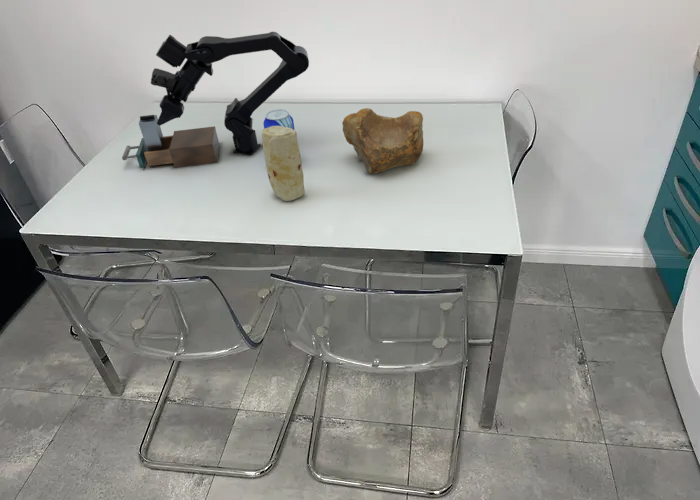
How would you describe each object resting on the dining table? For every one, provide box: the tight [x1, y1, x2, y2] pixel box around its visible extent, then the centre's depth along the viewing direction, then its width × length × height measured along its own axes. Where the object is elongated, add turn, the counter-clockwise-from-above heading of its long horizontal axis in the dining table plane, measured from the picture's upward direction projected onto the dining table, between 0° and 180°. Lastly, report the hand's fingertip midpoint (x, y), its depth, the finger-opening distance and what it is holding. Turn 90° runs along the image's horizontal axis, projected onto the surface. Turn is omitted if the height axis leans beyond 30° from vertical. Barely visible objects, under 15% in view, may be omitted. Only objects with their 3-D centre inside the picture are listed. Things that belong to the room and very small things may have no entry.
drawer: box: [121, 135, 173, 169], centre depth 172 cm, size 17×11×5 cm, turn 97°
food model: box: [261, 126, 306, 202], centre depth 147 cm, size 10×7×20 cm
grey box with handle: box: [138, 114, 168, 152], centre depth 169 cm, size 5×5×13 cm
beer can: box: [262, 108, 296, 131], centre depth 162 cm, size 8×8×16 cm
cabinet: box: [169, 126, 220, 169], centre depth 173 cm, size 13×12×6 cm
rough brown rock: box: [341, 107, 424, 175], centre depth 158 cm, size 23×17×15 cm
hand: (160, 117), depth 166 cm, fingers open, 9 cm apart
